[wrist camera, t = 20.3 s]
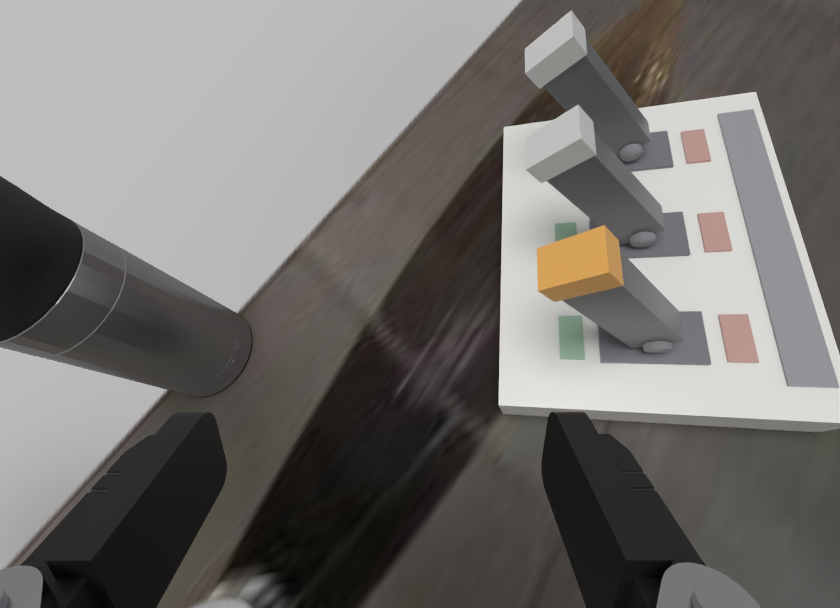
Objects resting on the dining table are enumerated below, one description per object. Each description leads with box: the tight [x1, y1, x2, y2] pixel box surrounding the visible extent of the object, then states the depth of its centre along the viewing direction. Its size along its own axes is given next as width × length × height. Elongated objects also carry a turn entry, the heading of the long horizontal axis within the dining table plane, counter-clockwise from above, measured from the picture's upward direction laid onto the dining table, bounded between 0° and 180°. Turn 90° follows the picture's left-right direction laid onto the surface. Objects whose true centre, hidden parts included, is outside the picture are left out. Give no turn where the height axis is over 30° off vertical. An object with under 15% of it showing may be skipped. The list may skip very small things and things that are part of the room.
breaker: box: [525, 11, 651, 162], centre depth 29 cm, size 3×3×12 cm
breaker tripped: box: [537, 225, 684, 353], centre depth 23 cm, size 3×3×12 cm
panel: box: [499, 92, 840, 432], centre depth 32 cm, size 20×26×4 cm
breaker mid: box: [525, 105, 665, 247], centre depth 26 cm, size 3×3×12 cm
